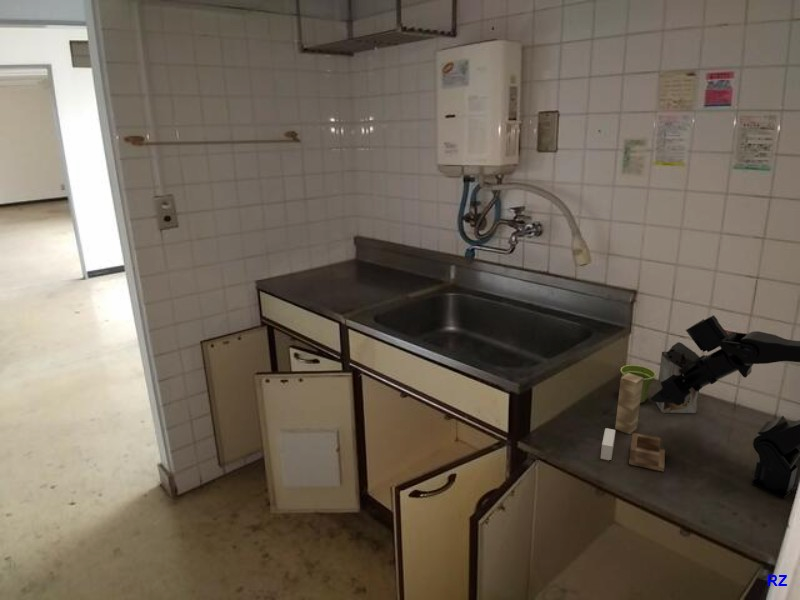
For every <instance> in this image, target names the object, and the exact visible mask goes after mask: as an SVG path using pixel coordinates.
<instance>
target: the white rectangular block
mask: <svg viewBox="0 0 800 600" xmlns="http://www.w3.org/2000/svg"><path fill="white" fill-rule="evenodd" d="M615 437H616V429H612V428H608V427H607V428H605V429H604V433H603V438H602V443H601V451H600V460H605V461H609V460H611V461H612V457H613V452H614V446H615Z"/></svg>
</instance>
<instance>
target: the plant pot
mask: <svg viewBox="0 0 800 600" xmlns="http://www.w3.org/2000/svg"><path fill="white" fill-rule="evenodd" d="M620 373H621V377H623V376H624V375H626V374H627V373H630V374H633V375H636V376H640V377H643V383H642V391H641V399H640V404H641V403H644V402H646V400H647V398H648V394H649V391H650V388H651V385H652V383H653V381H654V379H655V378H656V376H657V374H656V372H655V371H654V369H653V370H652V369H651V368H649V367H647V366H643V365H638V364H629V365H628V364H627V365H624V366H622V367H620Z"/></svg>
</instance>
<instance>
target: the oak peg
mask: <svg viewBox="0 0 800 600" xmlns="http://www.w3.org/2000/svg"><path fill="white" fill-rule="evenodd" d="M642 383H643V377H640V376H636V375H633V374H630V373H627V374H626V375H624V376H623V377H622V376H621V377H620V384H619V391H618V401H617V409H616V418H615V419H616V420H615V426H614V427H615V428H614V430H617V431H620V432H622V433H625V434H628V435H631V434H633V433H634V432H635V431H637V428H638V421H639V414H640V406H641V403H640V399H641V391H642Z"/></svg>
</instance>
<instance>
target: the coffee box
mask: <svg viewBox="0 0 800 600" xmlns="http://www.w3.org/2000/svg"><path fill="white" fill-rule="evenodd" d="M667 352H668V351H662V352H661V357H660V365H659V371H658V380H657V389H656V393H657V392H658V391H660V390H661V389H662V386H661V382H662V381H663V380H664V379H666V378H668V377H669V376H671V375H677V376H679V375H680V374H681V372H680V371H679V370H680V369H681V367H679V366H678V365H675V364H673V363H672V362H671V361H669V360H668V359H667V358H666V356H665V355H666V354H667ZM693 352H694V353H695V354H696V355H698V354H697V353H696V352H695V351H693ZM689 391H690V392H691V395H690V398H689V399H688V400H687V401H686V402H684V403H682V404H680V405H678V406H677V405H675V404H674V403H664V402H655V404H656V406H657V407H658V408H659V410H660V411H661V412H662V413H666V414H667V413H669V414H670V413H673V414H678V413H679V414H696V413H697V408H698V402H699V395H700V390H698V391H695V390H694V388H693V387H692V388H691V389H689Z"/></svg>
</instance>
